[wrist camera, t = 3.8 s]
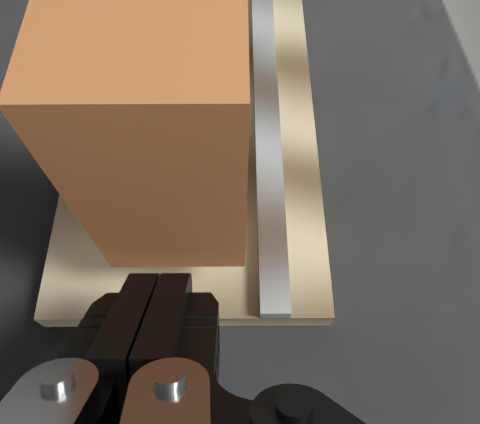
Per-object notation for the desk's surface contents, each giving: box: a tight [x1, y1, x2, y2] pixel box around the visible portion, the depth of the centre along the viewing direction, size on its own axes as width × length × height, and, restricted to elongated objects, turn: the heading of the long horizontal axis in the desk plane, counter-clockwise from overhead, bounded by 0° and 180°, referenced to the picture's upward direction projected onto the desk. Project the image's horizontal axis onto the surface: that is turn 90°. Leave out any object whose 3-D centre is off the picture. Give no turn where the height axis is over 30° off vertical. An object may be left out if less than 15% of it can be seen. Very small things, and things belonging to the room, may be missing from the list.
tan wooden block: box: [0, 0, 250, 267], centre depth 12 cm, size 4×4×9 cm
